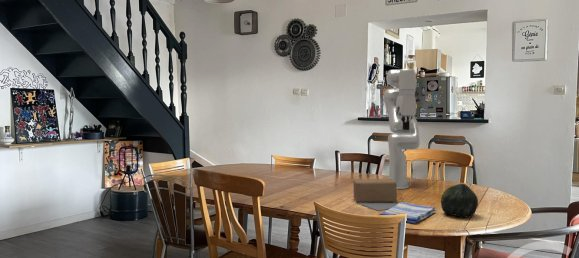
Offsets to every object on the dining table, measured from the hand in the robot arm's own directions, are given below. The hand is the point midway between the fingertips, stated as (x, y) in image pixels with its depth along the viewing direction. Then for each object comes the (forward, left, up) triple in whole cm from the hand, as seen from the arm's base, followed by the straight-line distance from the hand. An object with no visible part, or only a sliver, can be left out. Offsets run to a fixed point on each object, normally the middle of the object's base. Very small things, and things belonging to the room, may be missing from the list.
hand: (405, 129), depth 217 cm
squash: (+2, +36, -35) cm, 51 cm away
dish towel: (+22, +26, -35) cm, 49 cm away
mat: (+20, +6, -35) cm, 41 cm away
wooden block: (+8, +2, -30) cm, 31 cm away
